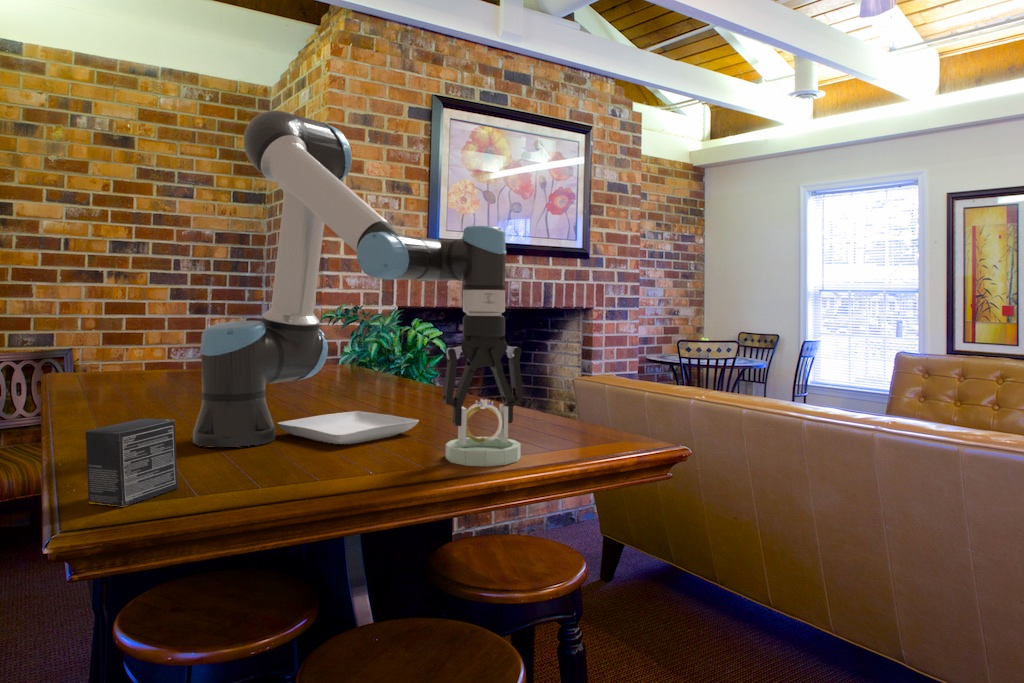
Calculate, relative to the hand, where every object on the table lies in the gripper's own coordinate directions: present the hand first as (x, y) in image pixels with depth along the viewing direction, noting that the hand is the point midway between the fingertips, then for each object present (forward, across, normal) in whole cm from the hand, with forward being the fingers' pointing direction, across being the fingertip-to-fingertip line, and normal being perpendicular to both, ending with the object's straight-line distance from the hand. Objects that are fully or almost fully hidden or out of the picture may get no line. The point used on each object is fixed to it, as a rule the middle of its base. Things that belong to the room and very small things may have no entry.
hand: (482, 442), depth 130 cm
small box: (+3, -55, -8) cm, 56 cm away
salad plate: (+3, -20, +29) cm, 35 cm away
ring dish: (+3, 0, 0) cm, 3 cm away
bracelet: (0, 0, 0) cm, 0 cm away
